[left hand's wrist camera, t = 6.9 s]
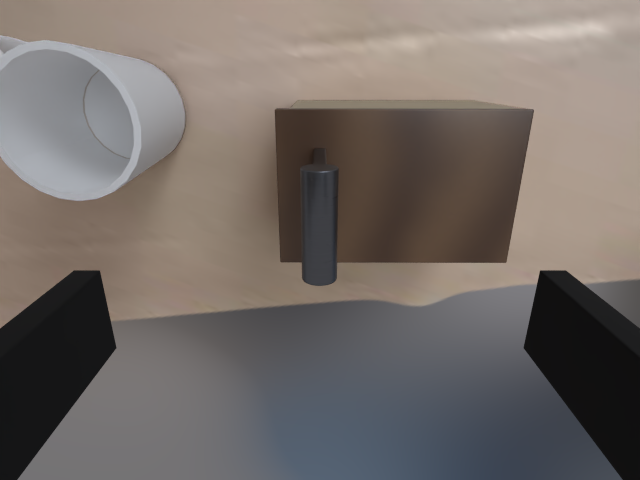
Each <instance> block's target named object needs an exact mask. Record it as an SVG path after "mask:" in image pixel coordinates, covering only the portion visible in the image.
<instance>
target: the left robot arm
mask: <svg viewBox="0 0 640 480" xmlns="http://www.w3.org/2000/svg"><path fill="white" fill-rule="evenodd" d="M115 349H116V344H115V339H114V335H113V330H112V325H111V321H110V316H109V311H108V307H107V302H106V297H105V293H104V288H103V283H102V279H101V274H100V271H73V272H72V273H70V274H69V275H68V276H67V277H65V278H64V279H63V280H61V281H60V282H59V283H58V284H56V285H55V286H54V287H53V288H51V289H50V290H49V291H47V292H46V293H45V294H44V295H42V296H41V297H40V298H39V299H37V300H36V301H35V302H33V303H32V304H31V305H30V306H28V307H27V308H26V309H25V310H23V311H22V312H21V313H19V314H18V315H17V316H16V317H14V318H13V319H12V320H11V321H9V322H8V323H7V324H5V325H4V326H3V327H2V328H0V480H17V479H18V478H19V477H20V475H21V474H22V473H23V471H24V470H25V469H26V467H27V466H28V465H29V463H30V462H31V461H32V459H33V458H34V457H35V455H36V454H37V453H38V451H39V450H40V449H41V447H42V446H43V445H44V443H45V442H46V441H47V439H48V438H49V437H50V435H51V434H52V433H53V431H54V430H55V429H56V427H57V426H58V425H59V423H60V422H61V421H62V419H63V418H64V417H65V415H66V414H67V413H68V412H69V410H70V409H71V407H72V406H73V405H74V403H75V402H76V401H77V400H78V398H79V397H80V396H81V394H82V393H83V392H84V390H85V389H86V387H87V386H88V385H89V384H90V382H91V381H92V380H93V378H94V377H95V376H96V374H97V373H98V372H99V370H100V369H101V368H102V366H103V365H104V364H105V362H106V361H107V360H108V358H109V357H110V356H111V354H112V353H113V352H114V350H115ZM524 349H525V350H526V352H527V353H528V354H529V356H530V357H531V358H532V360H533V361H534V362H535V364H536V365H537V366H538V368H539V369H540V370H541V372H542V373H543V374H544V376H545V377H546V378H547V380H548V381H549V382H550V384H551V385H552V386H553V388H554V389H555V390H556V392H557V393H558V394H559V396H560V397H561V398H562V400H563V401H564V402H565V403H566V405H567V406H568V408H569V409H570V410H571V411H572V413H573V414H574V415H575V417H576V418H577V419H578V421H579V422H580V423H581V425H582V426H583V427H584V429H585V430H586V431H587V433H588V434H589V435H590V437H591V438H592V439H593V441H594V442H595V443H596V445H597V446H598V447H599V449H600V450H601V451H602V453H603V454H604V455H605V457H606V458H607V459H608V461H609V462H610V463H611V465H612V466H613V467H614V469H615V470H616V471H617V473H618V474H619V475H620V477H621V478H622V479H623V480H640V328H638V327H637V326H636V325H635V324H633V323H632V322H631V321H629V320H628V319H627V318H626V317H624V316H623V315H622V314H621V313H619V312H618V311H617V310H615V309H614V308H613V307H612V306H610V305H609V304H608V303H607V302H605V301H604V300H603V299H601V298H600V297H599V296H598V295H596V294H595V293H594V292H593V291H591V290H590V289H589V288H587V287H586V286H585V285H584V284H582V283H581V282H580V281H579V280H577V279H576V278H575V277H573V276H572V275H571V274H570V273H568V272H567V271H540V274H539V279H538V283H537V288H536V293H535V297H534V302H533V307H532V311H531V316H530V321H529V325H528V330H527V335H526V339H525V344H524Z"/></svg>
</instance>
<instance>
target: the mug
mask: <svg viewBox="0 0 640 480" xmlns="http://www.w3.org/2000/svg"><path fill="white" fill-rule="evenodd" d="M185 126H186V111H185V107H184V103H183V99H182V97H181V95H180V93H179V91H178V89H177V87H176V85H175V84H174V83H173V81H172V80H171V79H170V78H169V77H168V75H167V74H166V73H164V72H163V71H162V70H160V69H159V68H158V67H156V66H155V65H153V64H151V63H149V62H146V61H144V60H142V59H137V58H132V57H128V56H123V55H119V54H114V53H110V52H105V51H101V50H96V49H92V48H87V47H83V46H78V45H74V44H69V43H62V42H56V41H49V40H42V41H34V42H26V41H22V40H19V39H15V38H12V37H7V36H0V156H1V158H2V159H3V161H4V162H5V163H6V165H7V166H8V167H9V168H10V169H12V170H13V171H14V172H15V173H16V174H17V175H18V176H19V177H20V178H21V179H22V180H23V181H25V182H27V183H28V184H30V185H31V186H33V187H34V188H36V189H37V190H39V191H41V192H44V193H46V194H49V195H52V196H54V197H57V198H60V199H67V200H75V201H83V200H91V199H98V198H100V197H103V196H105V195H107V194H110V193H112V192H114V191H116V190H118V189H119V188H120V187H122V186H123V185H125V184H126V183H128V182H129V181H131V180H132V179H134V178H135V177H136V176H138V175H139V174H141V173H142V172H144V171H145V170H147V169H148V168H150V167H151V166H152V165H154V164H155V163H157V162H158V161H160V160H161V159H163V158H164V157H166V156H167V155H168V154H169V153H171V152H172V151H173V150H174V149H175V148H176V147H177V145H178V144H179V142H180V140H181V139H182V136H183V133H184V130H185Z"/></svg>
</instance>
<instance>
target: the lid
mask: <svg viewBox="0 0 640 480" xmlns="http://www.w3.org/2000/svg"><path fill="white" fill-rule="evenodd" d="M533 113H534V110H532V109H394V108H277V109H275V127H276V154H277V181H278V208H279V236H280V261H281V262H302V279H303V281H304V282H306V283H308V284H310V285H315V286H323V285H329V284H331V283H333V282H335V280H336V279H337V262H424V263H506V261H507V256H508V250H509V245H510V239H511V234H512V228H513V223H514V217H515V212H516V206H517V201H518V195H519V190H520V184H521V179H522V173H523V168H524V162H525V157H526V151H527V146H528V140H529V135H530V129H531V124H532V118H533Z"/></svg>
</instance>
